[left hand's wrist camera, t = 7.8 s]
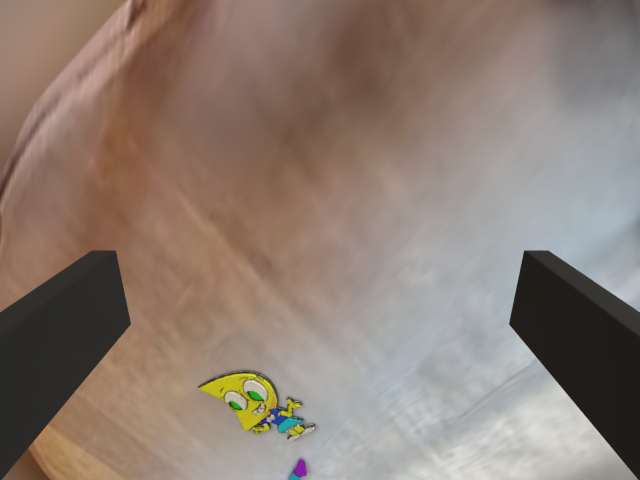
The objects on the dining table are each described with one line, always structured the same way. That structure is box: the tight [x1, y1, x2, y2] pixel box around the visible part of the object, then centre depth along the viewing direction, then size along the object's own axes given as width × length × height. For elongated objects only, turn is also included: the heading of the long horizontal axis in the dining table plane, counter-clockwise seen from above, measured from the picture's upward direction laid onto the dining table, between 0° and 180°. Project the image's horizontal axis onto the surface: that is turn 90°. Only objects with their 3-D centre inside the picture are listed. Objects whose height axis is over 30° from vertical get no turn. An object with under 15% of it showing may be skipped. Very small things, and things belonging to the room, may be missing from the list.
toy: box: [198, 371, 315, 442], centre depth 53 cm, size 10×1×15 cm
